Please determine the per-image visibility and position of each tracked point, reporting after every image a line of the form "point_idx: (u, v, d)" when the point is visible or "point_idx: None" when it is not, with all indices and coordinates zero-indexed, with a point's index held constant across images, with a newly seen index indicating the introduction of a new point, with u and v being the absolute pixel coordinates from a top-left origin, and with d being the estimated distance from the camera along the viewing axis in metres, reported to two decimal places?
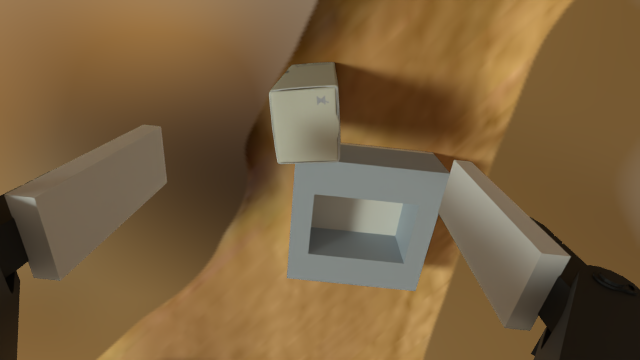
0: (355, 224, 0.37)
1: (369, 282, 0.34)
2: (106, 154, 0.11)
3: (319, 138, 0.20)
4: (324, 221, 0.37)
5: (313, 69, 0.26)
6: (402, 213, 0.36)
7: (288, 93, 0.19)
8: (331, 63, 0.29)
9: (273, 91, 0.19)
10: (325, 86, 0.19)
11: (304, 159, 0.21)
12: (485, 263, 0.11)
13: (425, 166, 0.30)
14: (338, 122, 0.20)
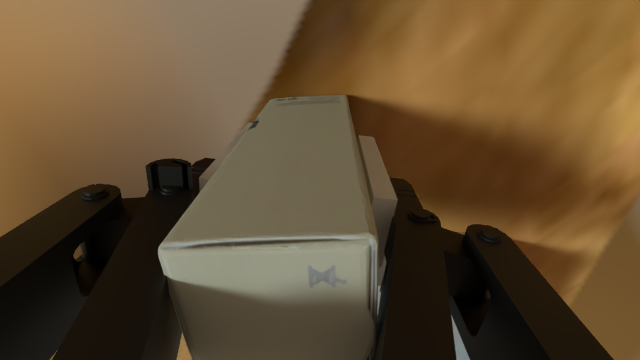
0: None
1: None
2: None
3: (316, 359, 0.07)
4: None
5: (307, 120, 0.13)
6: None
7: (216, 257, 0.06)
8: (342, 99, 0.16)
9: (168, 249, 0.06)
10: (337, 237, 0.06)
11: None
12: None
13: None
14: (373, 326, 0.07)
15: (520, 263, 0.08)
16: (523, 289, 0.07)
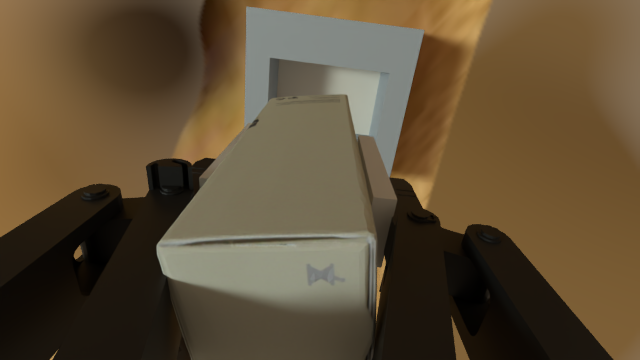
0: None
1: None
2: None
3: (315, 358, 0.07)
4: None
5: (307, 119, 0.13)
6: (375, 104, 0.32)
7: (215, 255, 0.06)
8: (342, 98, 0.16)
9: (167, 246, 0.06)
10: (336, 235, 0.06)
11: None
12: None
13: None
14: (371, 324, 0.07)
15: (520, 263, 0.08)
16: (523, 289, 0.07)
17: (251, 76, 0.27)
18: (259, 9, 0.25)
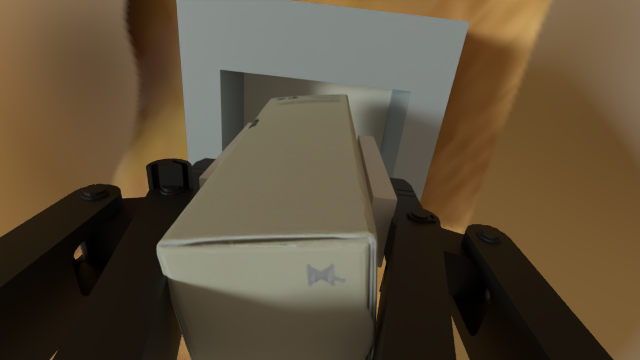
0: None
1: None
2: None
3: (315, 358, 0.07)
4: None
5: (307, 119, 0.13)
6: (385, 132, 0.22)
7: (214, 255, 0.06)
8: (342, 98, 0.16)
9: (167, 247, 0.06)
10: (336, 235, 0.06)
11: None
12: None
13: None
14: (372, 325, 0.07)
15: (519, 263, 0.08)
16: (523, 289, 0.07)
17: (193, 99, 0.17)
18: None
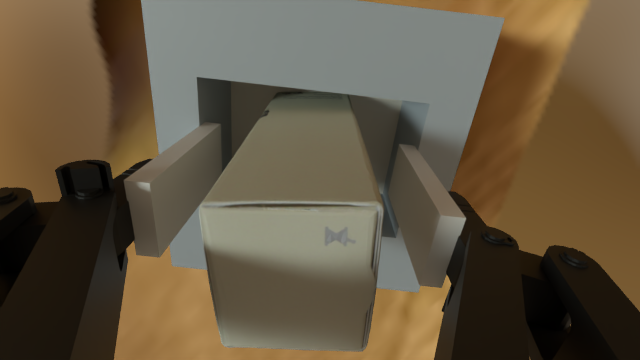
0: None
1: None
2: (187, 147, 0.12)
3: (323, 311, 0.08)
4: None
5: (314, 112, 0.14)
6: (395, 147, 0.19)
7: (249, 216, 0.07)
8: (344, 96, 0.17)
9: (209, 207, 0.07)
10: (351, 203, 0.07)
11: (284, 345, 0.09)
12: (411, 232, 0.12)
13: None
14: (373, 283, 0.08)
15: (610, 292, 0.07)
16: (612, 319, 0.07)
17: (165, 112, 0.14)
18: None
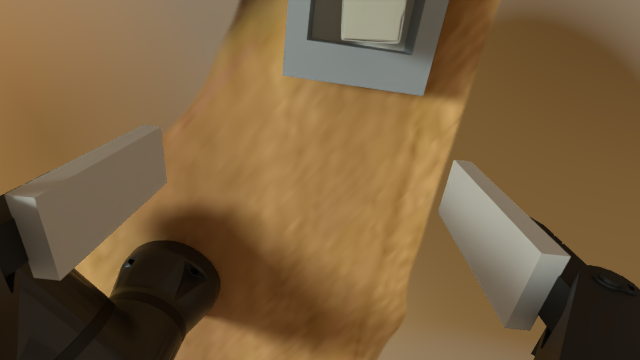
0: None
1: (372, 82, 0.31)
2: (106, 154, 0.11)
3: (385, 14, 0.22)
4: (326, 30, 0.34)
5: None
6: (412, 14, 0.32)
7: None
8: None
9: None
10: None
11: (367, 36, 0.22)
12: (485, 263, 0.11)
13: None
14: None
15: None
16: None
17: None
18: None
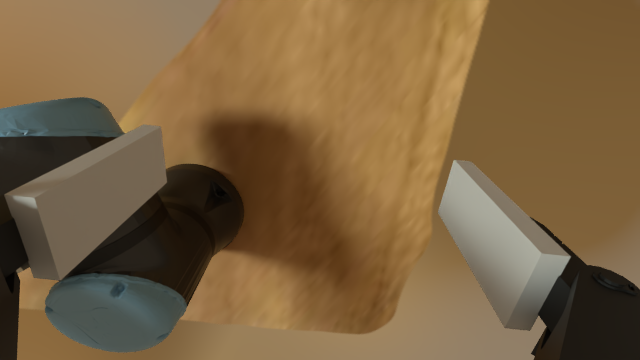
0: None
1: None
2: (106, 154, 0.11)
3: None
4: None
5: None
6: None
7: None
8: None
9: None
10: None
11: None
12: (485, 263, 0.11)
13: None
14: None
15: None
16: None
17: None
18: None
